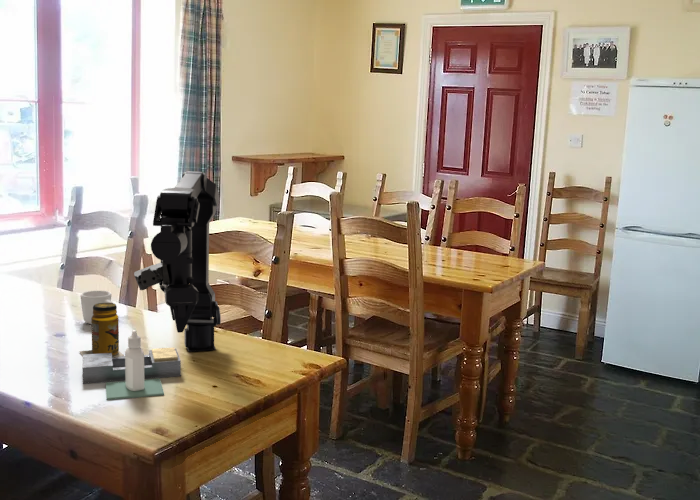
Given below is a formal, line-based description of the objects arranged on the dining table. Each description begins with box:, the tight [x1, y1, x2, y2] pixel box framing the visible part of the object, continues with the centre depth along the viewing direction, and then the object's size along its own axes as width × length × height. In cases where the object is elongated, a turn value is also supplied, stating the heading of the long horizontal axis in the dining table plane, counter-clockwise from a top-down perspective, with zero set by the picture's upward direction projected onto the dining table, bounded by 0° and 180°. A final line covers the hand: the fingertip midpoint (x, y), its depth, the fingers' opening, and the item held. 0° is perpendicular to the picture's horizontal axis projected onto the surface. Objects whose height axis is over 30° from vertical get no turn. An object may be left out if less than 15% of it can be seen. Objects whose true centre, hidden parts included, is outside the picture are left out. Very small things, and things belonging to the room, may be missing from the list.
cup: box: [79, 290, 114, 325], centre depth 196 cm, size 11×8×8 cm
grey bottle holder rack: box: [81, 347, 182, 385], centre depth 159 cm, size 20×9×4 cm, turn 109°
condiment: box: [78, 302, 125, 357], centre depth 170 cm, size 7×8×12 cm
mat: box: [105, 378, 165, 401], centre depth 149 cm, size 11×9×1 cm
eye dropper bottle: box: [124, 329, 145, 391], centre depth 148 cm, size 4×6×12 cm
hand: (177, 326), depth 151 cm, fingers open, 9 cm apart
